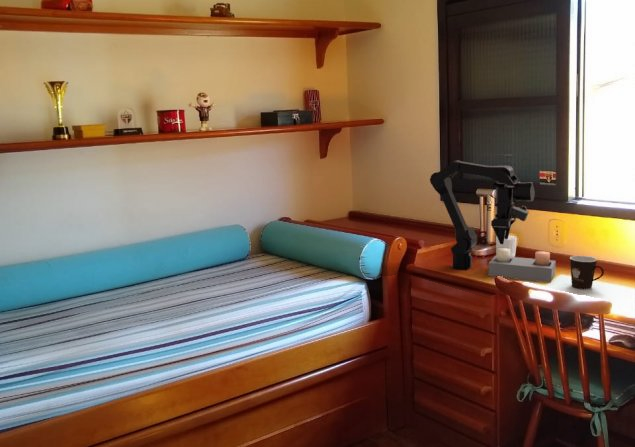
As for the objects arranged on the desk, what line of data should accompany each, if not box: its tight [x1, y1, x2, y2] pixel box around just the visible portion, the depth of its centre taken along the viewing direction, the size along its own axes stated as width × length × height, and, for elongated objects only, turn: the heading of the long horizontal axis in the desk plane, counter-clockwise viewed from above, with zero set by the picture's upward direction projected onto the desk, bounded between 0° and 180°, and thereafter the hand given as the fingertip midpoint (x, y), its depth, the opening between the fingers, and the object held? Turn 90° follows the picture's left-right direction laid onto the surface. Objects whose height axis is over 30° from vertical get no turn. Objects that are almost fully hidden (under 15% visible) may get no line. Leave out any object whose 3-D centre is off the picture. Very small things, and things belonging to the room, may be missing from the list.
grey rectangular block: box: [488, 254, 556, 283], centre depth 237 cm, size 22×12×5 cm, turn 64°
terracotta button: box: [534, 250, 551, 266], centre depth 233 cm, size 5×5×4 cm
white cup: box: [495, 234, 518, 257], centre depth 256 cm, size 8×8×10 cm
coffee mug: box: [569, 255, 605, 290], centre depth 219 cm, size 12×9×10 cm
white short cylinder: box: [495, 248, 510, 262], centre depth 239 cm, size 5×5×4 cm
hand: (504, 241), depth 238 cm, fingers open, 9 cm apart
